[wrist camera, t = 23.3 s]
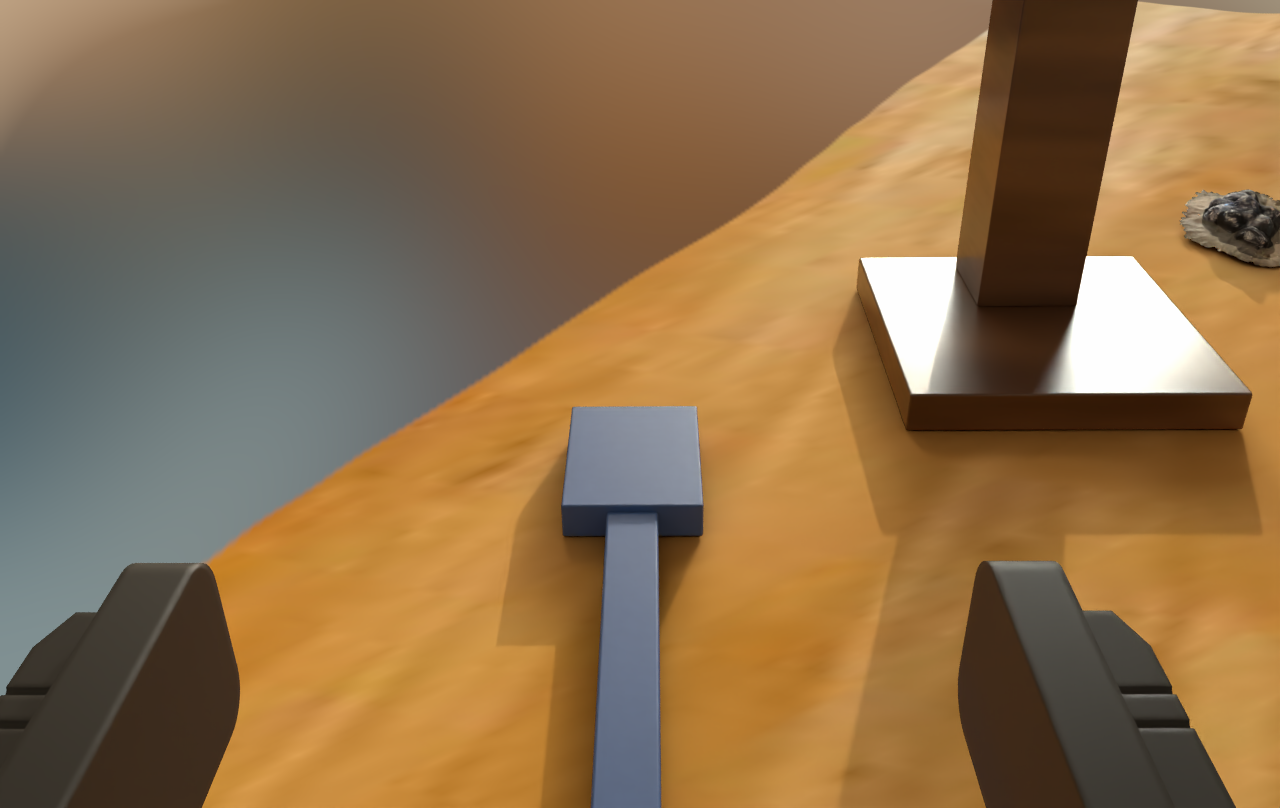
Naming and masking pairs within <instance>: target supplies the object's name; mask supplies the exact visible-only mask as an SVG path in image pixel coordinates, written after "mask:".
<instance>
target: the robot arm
mask: <svg viewBox="0 0 1280 808" xmlns="http://www.w3.org/2000/svg"><path fill="white" fill-rule="evenodd" d="M6 689H7V691H6V695H1V696H0V808H202V806H203V803H204V801H205V799H206V796H207V794H208V791H209V789H210V786H211V784H212V782H213V779H214V777H215V774H216V772H217V770H218V767H219V765H220V762H221V760H222V758H223V755H224V753H225V750H226V748H227V745H228V743H229V741H230V738H231V736H232V733H233V730H234V727H235V724H236V720H237V715H238V709H239V699H240V680H239V673H238V667H237V663H236V659H235V655H234V651H233V647H232V643H231V639H230V635H229V631H228V627H227V623H226V619H225V615H224V611H223V607H222V603H221V599H220V595H219V591H218V587H217V583H216V580H215V576H214V574H213V572H212V570H211V569H210V567H209V566H208V565H207V564H204V563H135V564H131V565H129V566H127V567H126V568H125V569H124V570H123V572H122V573H121V575H120V576H119V578H118V579H117V581H116V583H115V584H114V586H113V587H112V589H111V591H110V592H109V594H108V595H107V597H106V599H105V600H104V602H103V604H102V605H101V607H100V608H99V610H98V612H97V613H90V612H88V613H85V612H82V613H80V612H78V613H75V614H74V615H72V616H71V617H70V618H69V619H67V620H66V621H65V622H64V623H62V624H61V625H60V626H59V627H57V628H56V629H55V630H54V631H52V632H51V633H50V634H49V635H47V636H46V637H45V638H44V639H43V640H41V641H40V642H39V643H38V644H36V645H35V646H34V647H33V648H32V649H31V651H30V652H29V654H28V655H27V657H26V658H25V660H24V661H23V663H22V664H21V666H20V667H19V669H18V670H17V672H16V673H15V675H14V676H13V678H12V679H11V681H10V683H9V684H8V685H7V687H6ZM958 701H959V712H960V718H961V724H962V728H963V732H964V736H965V739H966V742H967V746H968V749H969V752H970V756H971V759H972V762H973V766H974V769H975V772H976V776H977V779H978V782H979V786H980V789H981V792H982V796H983V799H984V802H985V806H986V808H1236V807H1235V805H1234V803H1233V801H1232V799H1231V797H1230V795H1229V793H1228V792H1227V790H1226V788H1225V786H1224V784H1223V782H1222V780H1221V778H1220V776H1219V775H1218V773H1217V771H1216V769H1215V767H1214V765H1213V763H1212V761H1211V759H1210V757H1209V756H1208V754H1207V752H1206V750H1205V748H1204V746H1203V744H1202V742H1201V740H1200V739H1199V737H1198V735H1197V733H1196V731H1195V729H1193V728H1190V725H1189V721H1190V720H1189V718H1188V716H1187V714H1186V712H1185V710H1184V708H1183V706H1182V704H1181V703H1180V701H1179V699H1178V697H1177V695H1173V694H1172V686H1171V684H1170V682H1169V680H1168V678H1167V676H1166V674H1165V672H1164V670H1163V668H1162V667H1161V665H1160V663H1159V661H1158V659H1157V657H1156V655H1155V653H1154V651H1153V650H1152V648H1151V646H1150V645H1149V644H1148V643H1147V642H1146V641H1145V640H1143V639H1142V638H1141V637H1140V636H1139V635H1138V634H1137V633H1136V632H1135V631H1133V630H1132V629H1131V628H1130V627H1129V626H1128V625H1127V624H1126V623H1125V622H1123V621H1122V620H1121V619H1120V618H1119V617H1118V616H1117V615H1116V614H1115V613H1113V612H1112V611H1082V609H1081V606H1080V604H1079V602H1078V600H1077V598H1076V596H1075V594H1074V592H1073V590H1072V587H1071V585H1070V583H1069V581H1068V579H1067V577H1066V575H1065V573H1064V571H1063V569H1062V567H1061V566H1060V565H1059V564H1058V563H1057V562H1056V561H983V562H981V564H980V565H979V567H978V569H977V572H976V576H975V581H974V587H973V593H972V598H971V604H970V610H969V616H968V621H967V627H966V633H965V639H964V644H963V650H962V656H961V661H960V667H959V676H958Z"/></svg>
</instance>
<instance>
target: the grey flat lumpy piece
mask: <svg viewBox="0 0 1280 808" xmlns="http://www.w3.org/2000/svg"><path fill="white" fill-rule="evenodd" d="M1201 192H1202V193H1198V192H1196V193H1195V194H1197V195H1198V196H1197V197H1192V200H1191V199H1190V201H1188V202H1187V204H1185V205H1186V206H1187V207H1188V208H1189V209H1188V210H1187V209H1186V210H1187V212H1182V213H1183V214H1184V215H1185V216H1186V217H1182V218H1181V219H1182V220H1181V221H1180V222H1181V224H1182V226H1183V227H1185V229H1184V231H1185V232H1186V235H1185V238H1188V239H1190V238H1191V241H1195V242H1197V243H1200V245H1204V246H1205V247H1208V248H1209V247H1214V246H1216V247H1215V248H1219V249H1218V251H1224V252H1226V253H1227V254H1230V255H1233V256H1236V257H1237V258H1238V259H1240V260H1244V261H1247V262H1249V261H1252V262H1254V265H1261V266H1263V267H1264V266H1269V267H1274V266H1275V267H1276V266H1280V200H1277V201H1274V200H1272V199H1273V198H1269V197H1270V196H1268V195H1265V194H1260V193H1258V192H1254V191H1252V190H1243V191H1239V192H1230V193H1228V194H1227V195H1225V196H1223V195H1219V194H1218V193H1213V192H1211V193H1207V192H1206V191H1204V190H1203V191H1201ZM1198 214H1199V215H1198ZM1181 224H1180V225H1181Z"/></svg>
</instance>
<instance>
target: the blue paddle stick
mask: <svg viewBox="0 0 1280 808" xmlns="http://www.w3.org/2000/svg"><path fill="white" fill-rule="evenodd" d="M561 510H562V529H563V535H564V536H605V552H604V570H603V589H602V607H601V626H600V644H599V663H598V681H597V700H596V718H595V737H594V755H593V774H592V792H591V808H661V745H660V646H659V546H658V536H701V535H702V534H703V492H702V477H701V462H700V448H699V433H698V418H697V407H695V406H666V407H573V408H572V415H571V424H570V433H569V442H568V451H567V460H566V469H565V477H564V486H563V495H562V504H561Z"/></svg>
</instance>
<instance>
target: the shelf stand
mask: <svg viewBox="0 0 1280 808" xmlns="http://www.w3.org/2000/svg"><path fill="white" fill-rule="evenodd" d="M1137 2H1138V0H993V1H992V9H991V16H990V23H989V30H988V37H987V44H986V52H985V59H984V66H983V73H982V80H981V87H980V95H979V102H978V109H977V116H976V123H975V130H974V138H973V145H972V152H971V159H970V166H969V174H968V181H967V188H966V195H965V202H964V209H963V217H962V224H961V231H960V238H959V245H958V253H957V257H953V258H860V259H859V266H858V277H857V290H858V293H859V296H860V299H861V301H862V304H863V307H864V310H865V313H866V316H867V319H868V321H869V324H870V327H871V330H872V333H873V336H874V339H875V341H876V344H877V347H878V350H879V353H880V356H881V359H882V361H883V364H884V367H885V370H886V373H887V376H888V379H889V381H890V384H891V387H892V390H893V393H894V396H895V399H896V401H897V404H898V407H899V410H900V413H901V416H902V419H903V421H904V424H905V427H906V429H907V430H1062V429H1242V428H1243V425H1244V421H1245V418H1246V415H1247V411H1248V408H1249V404H1250V401H1251V398H1252V393H1251V391H1250V390H1249V389H1248V388H1247V387H1246V386H1245V385H1244V383H1243V382H1242V381H1241V380H1240V379H1239V378H1238V377H1237V375H1236V374H1235V373H1234V372H1233V371H1232V370H1231V369H1230V367H1229V366H1228V365H1227V364H1226V363H1225V362H1224V361H1223V359H1222V358H1221V357H1220V356H1219V355H1218V354H1217V353H1216V351H1215V350H1214V349H1213V348H1212V347H1211V346H1210V344H1209V343H1208V342H1207V341H1206V340H1205V339H1204V338H1203V336H1202V335H1201V334H1200V333H1199V332H1198V331H1197V330H1196V328H1195V327H1194V326H1193V325H1192V324H1191V323H1190V322H1189V320H1188V319H1187V318H1186V317H1185V316H1184V315H1183V314H1182V312H1181V311H1180V310H1179V309H1178V308H1177V307H1176V306H1175V304H1174V303H1173V302H1172V301H1171V300H1170V299H1169V298H1168V296H1167V295H1166V294H1165V293H1164V292H1163V291H1162V290H1161V288H1160V287H1159V286H1158V285H1157V284H1156V283H1155V282H1154V280H1153V279H1152V278H1151V277H1150V276H1149V275H1148V274H1147V272H1146V271H1145V270H1144V269H1143V268H1142V267H1141V266H1140V264H1139V263H1138V262H1137V261H1136V260H1135V259H1134V258H1133V257H1086V256H1087V251H1088V246H1089V241H1090V236H1091V231H1092V226H1093V221H1094V216H1095V211H1096V206H1097V201H1098V196H1099V191H1100V186H1101V181H1102V176H1103V171H1104V166H1105V161H1106V156H1107V151H1108V146H1109V141H1110V136H1111V131H1112V126H1113V121H1114V117H1115V112H1116V107H1117V102H1118V97H1119V92H1120V87H1121V82H1122V77H1123V72H1124V67H1125V62H1126V57H1127V52H1128V47H1129V42H1130V37H1131V32H1132V27H1133V22H1134V17H1135V12H1136V7H1137Z"/></svg>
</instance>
